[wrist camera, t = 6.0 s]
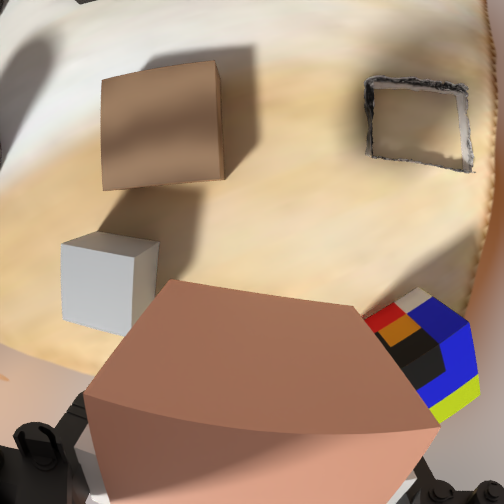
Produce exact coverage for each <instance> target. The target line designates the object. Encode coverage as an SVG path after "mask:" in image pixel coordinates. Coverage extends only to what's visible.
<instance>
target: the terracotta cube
mask: <svg viewBox="0 0 504 504" xmlns="http://www.w3.org/2000/svg"><path fill="white" fill-rule="evenodd" d="M83 397H84V403H85V408H86V414H87V419H88V424H89V428H90V433H91V437H92V442H93V446H94V450H95V454H96V458H97V461H98V465H99V469H100V472H101V476H102V479H103V482H104V486H105V489H106V492H107V495H108V498H109V501H110V504H386V503H387V502H388V501H389V500H390V499H391V497H392V496H393V495H394V494H395V493H396V491H397V490H398V489H399V488H400V486H401V485H402V484H403V482H404V481H405V480H406V478H407V477H408V476H409V474H410V473H411V472H412V470H413V469H414V468H415V466H416V465H417V463H418V462H419V460H420V459H421V458H422V456H423V455H424V453H425V452H426V450H427V449H428V447H429V446H430V444H431V443H432V441H433V439H434V438H435V436H436V435H437V433H438V431H439V430H440V428H441V426H440V424H439V423H438V421H437V420H436V418H435V417H434V415H433V414H432V413H431V411H430V410H429V408H428V407H427V405H426V404H425V403H424V401H423V400H422V398H421V397H420V395H419V394H418V393H417V391H416V390H415V388H414V387H413V386H412V384H411V383H410V381H409V380H408V379H407V377H406V376H405V375H404V373H403V372H402V370H401V369H400V368H399V366H398V365H397V364H396V362H395V361H394V360H393V358H392V357H391V355H390V354H389V353H388V351H387V350H386V349H385V347H384V346H383V345H382V343H381V342H380V341H379V339H378V338H377V337H376V335H375V334H374V333H373V331H372V330H371V329H370V327H369V326H368V325H367V324H366V322H365V321H364V320H363V318H362V317H361V316H360V314H359V313H358V312H357V310H356V309H355V308H354V307H353V306H348V305H340V304H332V303H324V302H317V301H309V300H302V299H294V298H287V297H280V296H273V295H267V294H260V293H253V292H247V291H240V290H234V289H227V288H221V287H215V286H209V285H203V284H197V283H191V282H185V281H179V280H174V279H169V281H168V282H167V283H166V284H165V286H164V287H163V288H162V289H161V291H160V292H159V293H158V295H157V296H156V297H155V298H154V300H153V301H152V302H151V303H150V305H149V306H148V307H147V309H146V310H145V311H144V312H143V314H142V315H141V316H140V318H139V319H138V320H137V321H136V323H135V324H134V325H133V327H132V328H131V329H130V331H129V332H128V333H127V334H126V336H125V337H124V338H123V340H122V341H121V342H120V344H119V345H118V346H117V348H116V349H115V350H114V352H113V353H112V354H111V356H110V357H109V358H108V360H107V361H106V362H105V364H104V365H103V367H102V368H101V369H100V371H99V372H98V373H97V375H96V376H95V377H94V379H93V380H92V382H91V383H90V384H89V386H88V387H87V389H86V390H85V391H84V393H83Z"/></svg>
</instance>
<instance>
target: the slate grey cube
mask: <svg viewBox="0 0 504 504" xmlns="http://www.w3.org/2000/svg"><path fill="white" fill-rule="evenodd" d="M159 243H160V242H159V241H153V240H147V239H140V238H134V237H128V236H122V235H116V234H110V233H104V232H98V231H96V232H93V233H90V234H87V235H84V236H82V237H79V238H76V239H73V240H70V241H67V242H64V243H62V244H61V297H62V315H63V320H66V321H69V322H72V323H76V324H79V325H83V326H86V327H90V328H93V329H97V330H101V331H104V332H108V333H112V334H116V335H120V336H124V337H125V336H126V334H127V333H128V332H129V331H130V329H131V328H132V327H133V325H134V324H135V323H136V321H137V320H138V319H139V318H140V316H141V315H142V314H143V312H144V311H145V310H146V309H147V307H148V306H149V305H150V303H151V302H152V301H153V300H154V298H155V288H156V275H157V264H158V253H159Z"/></svg>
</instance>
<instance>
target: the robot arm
mask: <svg viewBox="0 0 504 504" xmlns="http://www.w3.org/2000/svg"><path fill="white" fill-rule="evenodd" d="M2 3H3V0H0V9H1V7H2ZM83 393H84V391H83V392H81V393H80V394H79V395H78V396H77V397H76V399H75V400H74V402H73V403H72V405H71V406H70V407H69V408H68V410H67V413H65V414H64V416H63V417H62V418H61V420H60V421H59V423H58V424H57V425H56V427H55V428H52V427H51V426H50V425H48V424H44V423H41V422H30V423H27V424H23V425H22V426H20V427H19V428H18V429H17V430H16V431H15V433H14V435H13V438H14V440H15V442H16V444H17V447H18V449H14V448H9V447H5V446H1V445H0V504H86V503H85V501H86V499H87V497H88V495H89V493H90V495H91V497H92V500H93V501H95V502H98V503H101V504H110V501H109V498H108V495H107V492H106V489H105V486H104V482H103V479H102V476H101V472H100V469H99V465H98V461H97V458H96V454H95V450H94V446H93V442H92V437H91V433H90V428H89V424H88V419H87V414H86V408H85V403H84V397H83ZM386 504H504V488H503V487H502V485H500V484H499V483H497V482H495V481H491V480H490V481H484V482H482V483H480V485H479V486H478V487H477V488H476V489H475V490H474V491H455V489H454V488H453V487H452V486H451V485H450V484H449V483H447V482H445V481H442V480H436V479H435V478H434V476H433V474H432V472H431V470H430V469H429V467H428V465H427V463H426V461H425V459H424V458H423V456H422V458H421V459H420V460H419V462H418V463H417V465H416V466H415V468H414V469H413V470H412V472H411V473H410V474H409V476H408V477H407V478H406V480H405V481H404V482H403V484H402V485H401V486H400V488H399V489H398V490H397V491H396V493H395V494H394V495H393V496H392V497H391V499H390V500H389V501H388V502H387V503H386Z"/></svg>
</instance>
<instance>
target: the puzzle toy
mask: <svg viewBox="0 0 504 504" xmlns="http://www.w3.org/2000/svg"><path fill="white" fill-rule="evenodd" d="M364 321H365V322H366V324H367V325H368V326H369V327H370V329H371V330H372V331H373V333H374V334H375V335H376V337H377V338H378V339H379V341H380V342H381V343H382V345H383V346H384V347H385V349H386V350H387V351H388V353H389V354H390V355H391V357H392V358H393V360H394V361H395V362H396V364H397V365H398V366H399V368H400V369H401V370H402V372H403V373H404V375H405V376H406V377H407V379H408V380H409V381H410V383H411V384H412V386H413V387H414V388H415V390H416V391H417V393H418V394H419V395H420V397H421V398H422V400H423V401H424V403H425V404H426V405H427V407H428V408H429V410H430V411H431V413H432V414H433V415H434V417H435V418H436V420H437V421H438V423H439V424H440V423H441V422H443V421H444V420H446V419H447V418H449V417H450V416H452V415H453V414H455V413H456V412H457V411H459V410H460V409H461V408H463V407H464V406H466V405H467V404H469V403H470V402H471V401H472V400H474V399H475V398H476V397H478V396H479V395H480V386H479V378H478V370H477V363H476V357H475V350H474V344H473V339H472V334H471V329H470V324H469V322H468V321H467V320H466V319H464V318H463V317H461V316H460V315H459V314H457V313H456V312H454V311H453V310H452V309H450V308H449V307H447V306H446V305H444V304H443V303H442V302H440V301H439V300H437V299H436V298H434V297H433V296H431V295H430V294H428V293H427V292H425V291H424V290H423V289H421V288H420V287H417V288H415V289H414V290H412V291H411V292H409V293H408V294H406V295H404V296H403V297H401V298H400V299H398V300H396V301H395V302H393V303H392V304H390V305H388V306H387V307H385V308H384V309H382V310H380V311H379V312H377V313H375V314H374V315H372V316H370V317H368V318H367V319H365V320H364Z"/></svg>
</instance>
